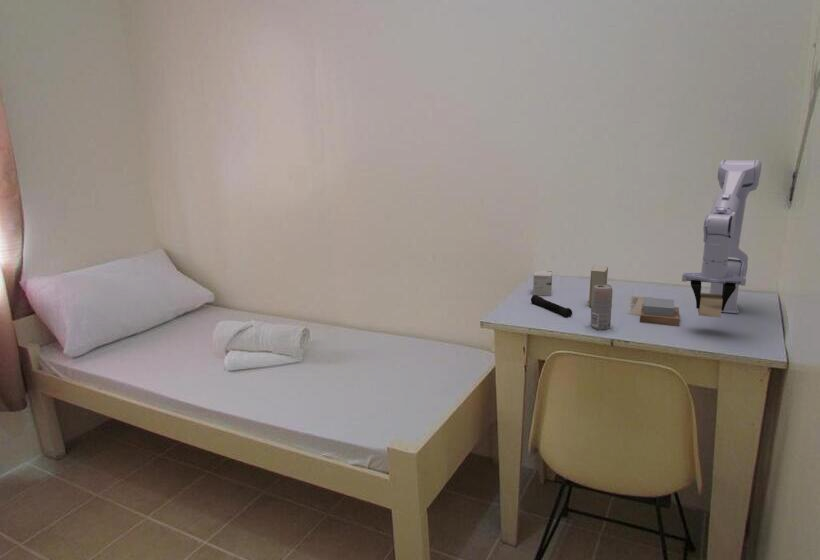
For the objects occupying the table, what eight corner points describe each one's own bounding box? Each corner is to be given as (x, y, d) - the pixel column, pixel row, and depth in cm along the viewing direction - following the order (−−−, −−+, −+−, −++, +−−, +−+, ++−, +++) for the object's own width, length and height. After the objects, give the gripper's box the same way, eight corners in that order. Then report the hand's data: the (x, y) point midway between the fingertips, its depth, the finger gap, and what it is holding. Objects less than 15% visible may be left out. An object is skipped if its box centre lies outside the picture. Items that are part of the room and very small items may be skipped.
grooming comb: (630, 296, 173) (630, 294, 173) (663, 300, 168) (664, 298, 168) (620, 314, 158) (620, 312, 158) (656, 319, 153) (657, 317, 153)
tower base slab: (641, 311, 159) (642, 304, 159) (678, 315, 155) (678, 307, 154) (639, 323, 151) (640, 315, 150) (678, 327, 147) (679, 318, 146)
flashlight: (538, 302, 173) (538, 294, 172) (572, 317, 158) (573, 307, 157) (530, 304, 171) (530, 295, 171) (564, 319, 157) (565, 309, 156)
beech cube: (698, 309, 144) (700, 292, 142) (719, 311, 141) (721, 293, 140) (698, 315, 139) (700, 297, 138) (720, 317, 137) (722, 299, 136)
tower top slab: (643, 305, 158) (644, 297, 157) (672, 307, 155) (673, 299, 154) (643, 314, 151) (643, 305, 150) (673, 316, 148) (674, 308, 147)
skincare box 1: (532, 295, 179) (533, 274, 177) (534, 290, 185) (534, 270, 183) (551, 296, 177) (551, 275, 175) (551, 290, 183) (552, 270, 181)
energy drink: (605, 322, 152) (608, 283, 148) (613, 329, 147) (616, 288, 143) (587, 323, 152) (589, 284, 148) (594, 330, 147) (596, 289, 143)
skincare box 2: (592, 300, 170) (593, 265, 167) (606, 302, 168) (608, 266, 165) (588, 306, 165) (590, 270, 162) (603, 308, 163) (605, 271, 160)
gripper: (684, 261, 136) (679, 310, 140) (749, 265, 130) (743, 316, 133) (683, 255, 142) (679, 302, 146) (746, 258, 136) (739, 307, 139)
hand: (709, 308), depth 140 cm, fingers closed on beech cube, 5 cm apart
